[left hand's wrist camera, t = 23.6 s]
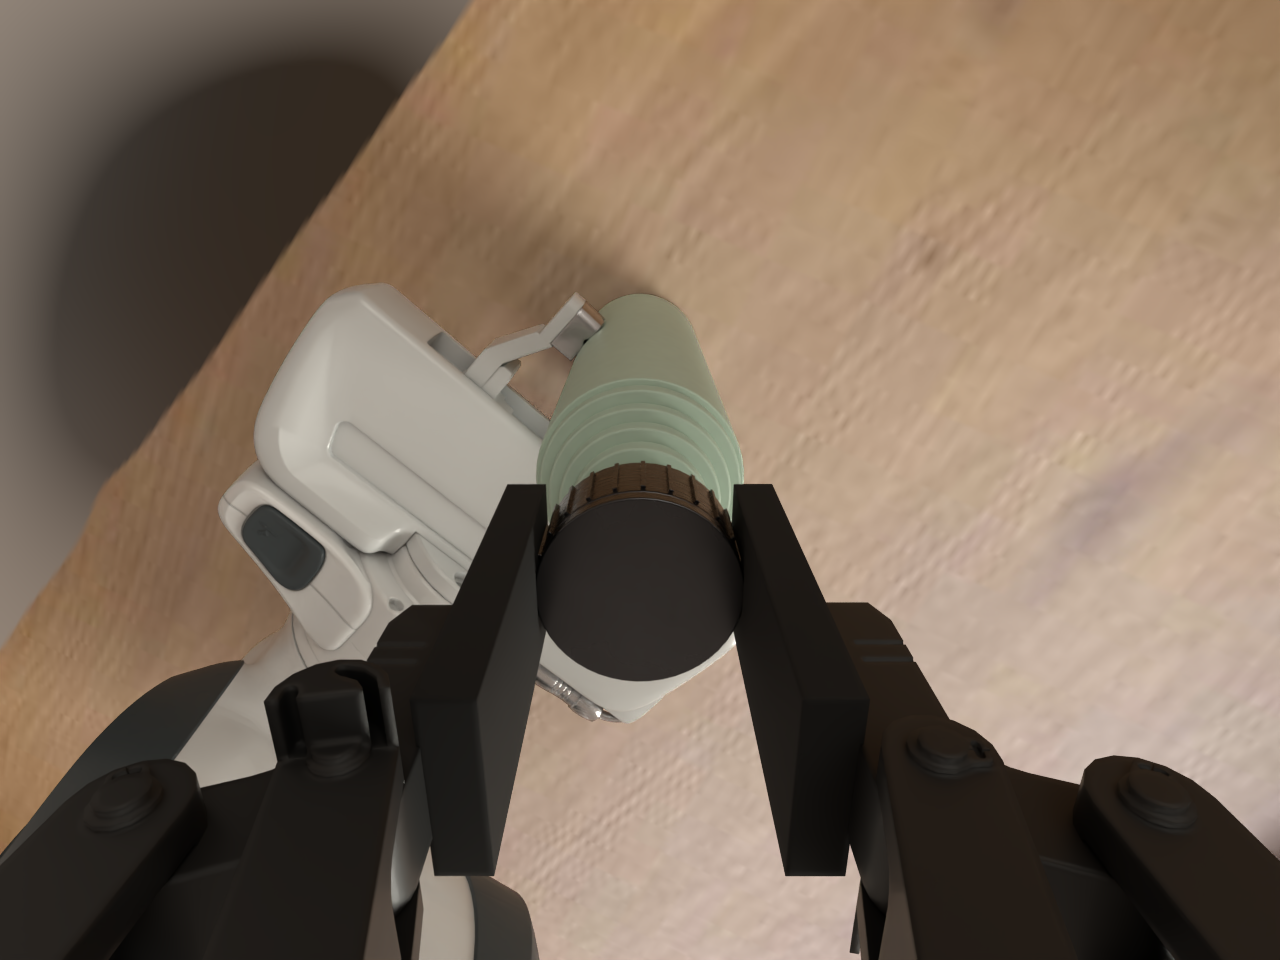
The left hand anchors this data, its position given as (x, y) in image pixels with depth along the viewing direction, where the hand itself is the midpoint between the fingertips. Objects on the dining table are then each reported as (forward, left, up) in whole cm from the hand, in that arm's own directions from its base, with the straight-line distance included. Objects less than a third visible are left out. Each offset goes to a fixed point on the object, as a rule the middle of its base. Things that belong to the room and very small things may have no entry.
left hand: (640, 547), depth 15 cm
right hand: (-1, 0, -14) cm, 14 cm away
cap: (0, 0, +2) cm, 2 cm away
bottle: (0, 0, -20) cm, 20 cm away
